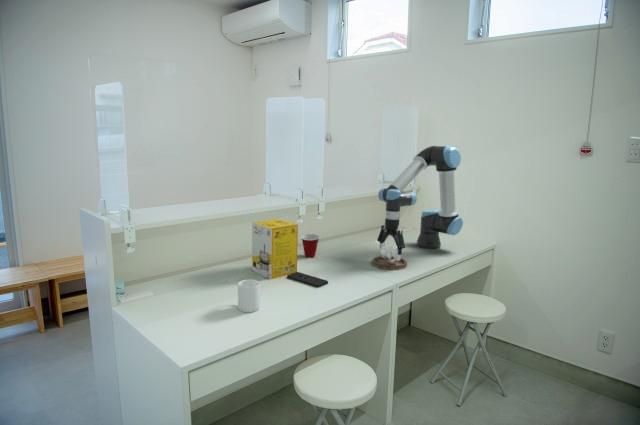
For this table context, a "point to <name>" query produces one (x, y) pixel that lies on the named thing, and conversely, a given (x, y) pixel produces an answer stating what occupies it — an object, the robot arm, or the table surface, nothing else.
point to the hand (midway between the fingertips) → (390, 257)
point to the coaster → (389, 263)
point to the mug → (249, 295)
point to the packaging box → (274, 248)
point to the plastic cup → (310, 244)
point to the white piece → (389, 253)
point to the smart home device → (307, 279)
